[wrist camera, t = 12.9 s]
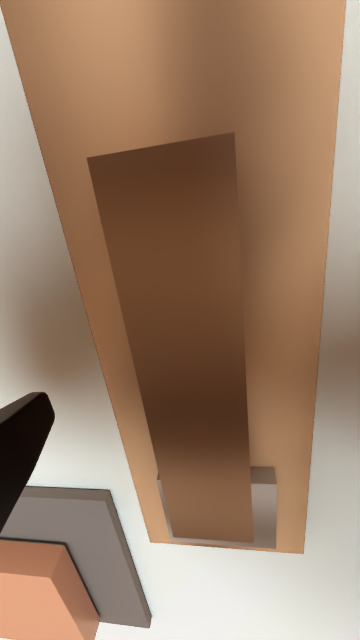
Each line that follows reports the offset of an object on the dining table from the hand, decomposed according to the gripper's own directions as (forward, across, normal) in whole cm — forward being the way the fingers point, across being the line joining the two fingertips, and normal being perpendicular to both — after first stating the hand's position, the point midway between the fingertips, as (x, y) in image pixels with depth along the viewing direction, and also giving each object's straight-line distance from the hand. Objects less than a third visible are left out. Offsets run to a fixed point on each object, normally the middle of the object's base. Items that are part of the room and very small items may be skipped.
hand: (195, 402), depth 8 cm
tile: (+2, +13, +13) cm, 18 cm away
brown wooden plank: (+3, 0, +2) cm, 3 cm away
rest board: (+4, 0, 0) cm, 4 cm away
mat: (+4, +13, +16) cm, 21 cm away
